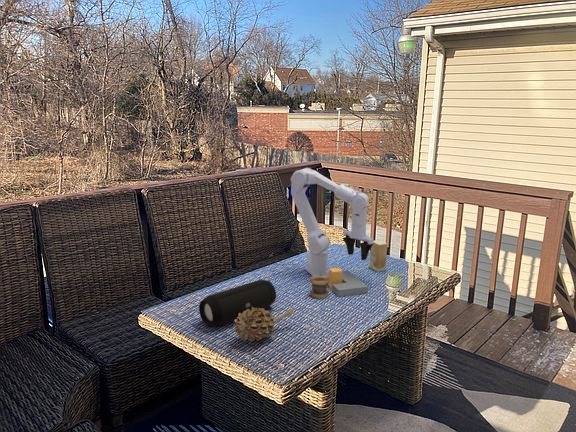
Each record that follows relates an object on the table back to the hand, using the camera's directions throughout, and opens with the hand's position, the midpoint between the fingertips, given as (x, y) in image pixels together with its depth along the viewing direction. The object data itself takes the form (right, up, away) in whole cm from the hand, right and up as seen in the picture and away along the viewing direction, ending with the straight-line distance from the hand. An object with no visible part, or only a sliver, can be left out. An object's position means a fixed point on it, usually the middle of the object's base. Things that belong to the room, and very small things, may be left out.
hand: (357, 257), depth 182 cm
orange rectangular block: (-9, -11, -6) cm, 16 cm away
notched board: (-6, -11, -5) cm, 13 cm away
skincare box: (+11, -7, +14) cm, 19 cm away
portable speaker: (-44, -17, -31) cm, 56 cm away
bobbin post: (-16, -13, -13) cm, 24 cm away
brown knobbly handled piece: (-34, -20, -43) cm, 59 cm away
